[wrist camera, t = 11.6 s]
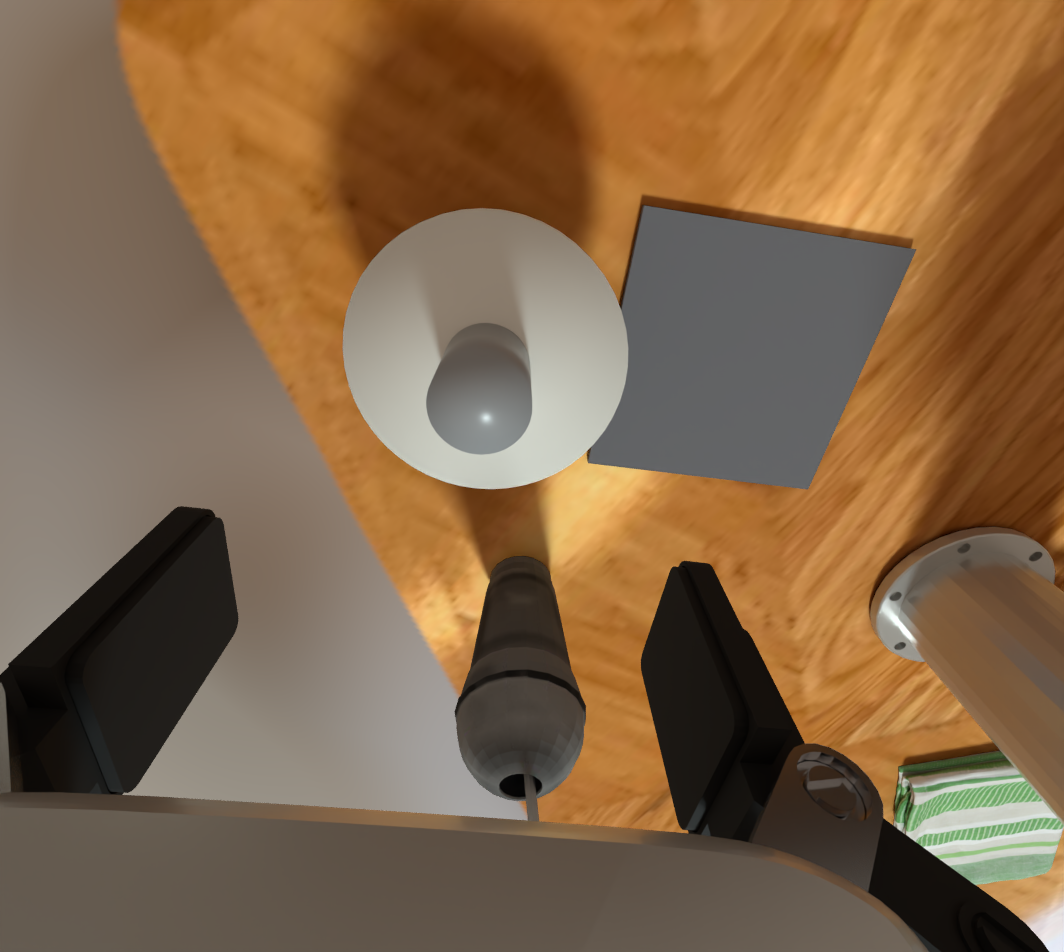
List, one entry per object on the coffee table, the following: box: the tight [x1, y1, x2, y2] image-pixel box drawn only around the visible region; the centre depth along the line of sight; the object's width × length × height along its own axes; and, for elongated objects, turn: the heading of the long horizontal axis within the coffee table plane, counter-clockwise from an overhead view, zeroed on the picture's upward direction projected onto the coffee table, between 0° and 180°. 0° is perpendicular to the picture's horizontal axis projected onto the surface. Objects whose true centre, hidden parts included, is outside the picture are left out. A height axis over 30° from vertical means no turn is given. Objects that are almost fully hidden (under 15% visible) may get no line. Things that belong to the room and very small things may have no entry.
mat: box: [588, 205, 916, 489], centre depth 32 cm, size 15×15×1 cm
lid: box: [343, 208, 628, 489], centre depth 23 cm, size 13×13×6 cm
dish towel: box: [893, 751, 1064, 885], centre depth 55 cm, size 18×23×3 cm
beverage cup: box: [455, 556, 586, 821], centre depth 31 cm, size 7×7×20 cm
